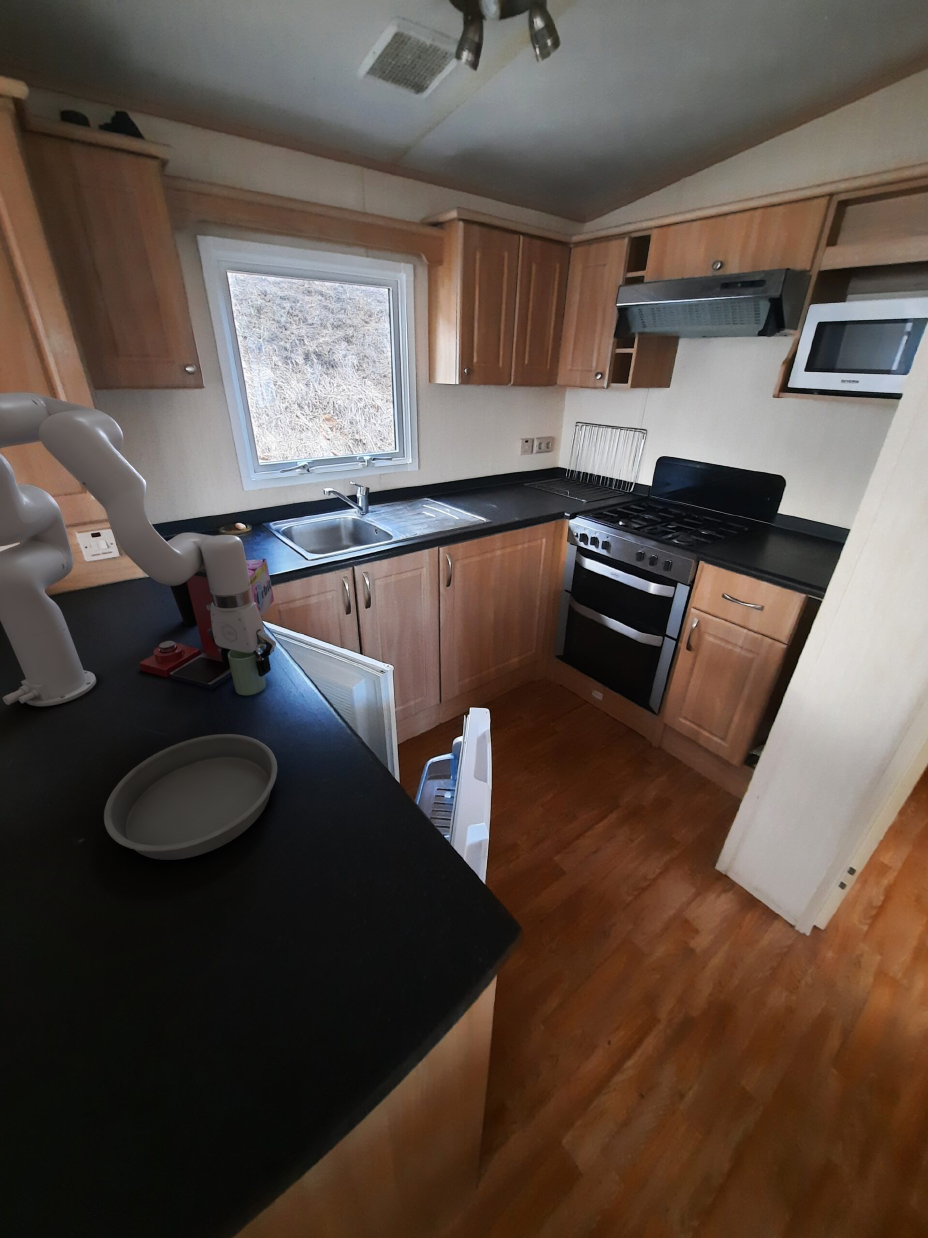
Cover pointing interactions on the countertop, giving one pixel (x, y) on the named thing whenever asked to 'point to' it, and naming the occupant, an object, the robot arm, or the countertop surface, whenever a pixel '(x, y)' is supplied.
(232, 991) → the countertop surface
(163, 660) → the button block
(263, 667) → the robot arm
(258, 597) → the gum box
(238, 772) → the cake pan
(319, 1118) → the countertop surface
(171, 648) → the button
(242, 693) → the cup
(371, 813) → the countertop surface
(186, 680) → the coffee maker
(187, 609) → the drinking cup
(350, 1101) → the countertop surface
